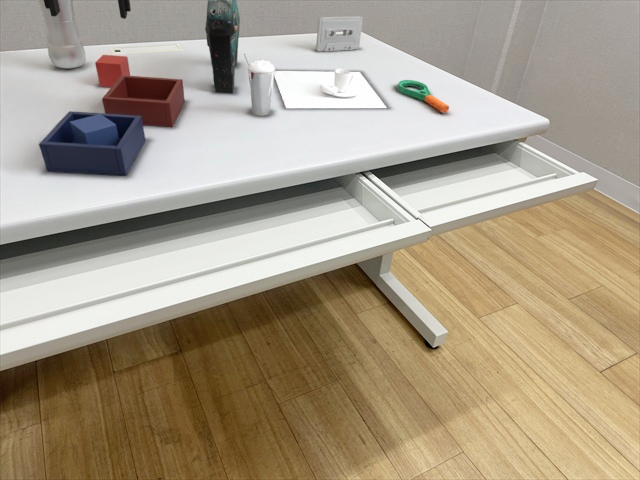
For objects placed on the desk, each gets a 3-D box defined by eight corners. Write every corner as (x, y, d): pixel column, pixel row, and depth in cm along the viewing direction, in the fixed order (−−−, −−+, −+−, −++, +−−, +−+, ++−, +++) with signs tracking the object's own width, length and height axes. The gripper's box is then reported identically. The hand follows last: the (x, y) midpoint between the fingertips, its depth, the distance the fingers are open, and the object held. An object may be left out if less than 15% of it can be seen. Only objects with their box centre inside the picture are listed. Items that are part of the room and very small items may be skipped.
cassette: (318, 52, 116) (320, 18, 112) (314, 49, 118) (317, 16, 113) (360, 49, 121) (364, 17, 116) (356, 47, 122) (360, 15, 118)
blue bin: (47, 171, 65) (38, 143, 62) (75, 136, 73) (69, 111, 71) (126, 175, 66) (121, 148, 63) (145, 140, 74) (141, 115, 71)
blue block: (91, 162, 67) (84, 133, 64) (76, 150, 69) (69, 121, 66) (121, 153, 69) (116, 124, 67) (106, 141, 72) (100, 113, 69)
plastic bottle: (45, 66, 95) (13, -50, 82) (76, 58, 99) (50, -52, 87) (64, 74, 92) (34, -44, 80) (95, 66, 97) (71, -47, 84)
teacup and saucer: (321, 99, 93) (323, 78, 91) (314, 84, 99) (315, 64, 97) (364, 99, 95) (367, 79, 93) (354, 84, 101) (356, 65, 99)
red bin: (106, 123, 78) (101, 98, 75) (125, 97, 86) (121, 74, 83) (172, 127, 79) (169, 102, 76) (184, 101, 87) (182, 79, 84)
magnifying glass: (392, 86, 102) (393, 78, 101) (415, 84, 104) (417, 76, 103) (431, 115, 92) (433, 106, 91) (456, 112, 94) (458, 104, 93)
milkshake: (248, 105, 88) (248, 49, 82) (276, 109, 88) (278, 54, 81) (240, 114, 85) (239, 57, 78) (269, 119, 84) (270, 62, 78)
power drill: (237, 97, 91) (235, -20, 78) (203, 95, 90) (195, -24, 77) (244, 62, 106) (242, -40, 94) (214, 60, 105) (209, -43, 93)
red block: (99, 86, 89) (94, 62, 86) (107, 78, 93) (102, 54, 90) (124, 88, 89) (120, 64, 87) (131, 79, 93) (127, 56, 90)
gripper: (-22, -132, 57) (21, 20, 67) (131, -118, 61) (149, 23, 71) (-4, -134, 62) (33, 7, 73) (134, -121, 66) (151, 11, 77)
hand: (90, 15), depth 72 cm, fingers open, 9 cm apart
